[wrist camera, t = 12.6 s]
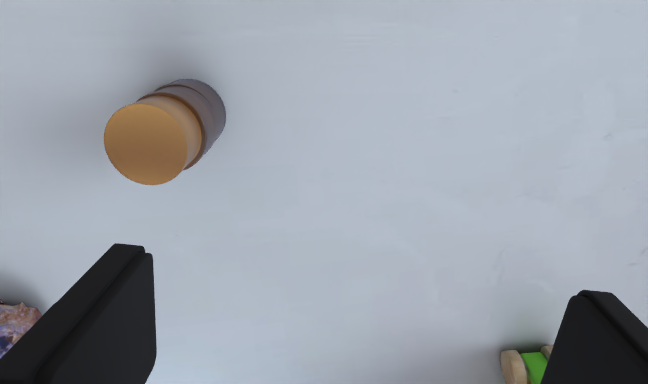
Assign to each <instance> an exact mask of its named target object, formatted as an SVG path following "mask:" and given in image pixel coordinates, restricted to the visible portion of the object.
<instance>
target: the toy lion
mask: <svg viewBox="0 0 648 384" xmlns="http://www.w3.org/2000/svg"><path fill="white" fill-rule="evenodd" d="M553 346H554V345H549V346H543V347H542V348H541V349H540V352H534V353H522V354H520V355H519V353H518V352H517V351H516V350H507V351H502V353H501V356H500V361H501V368H502V372H503V376H504V379H505V381H506V384H540V383H541V380H542V377H543V374H544V371H545V369H546V366H547V363H548V360H549V357H550V354H551V351H552V348H553Z"/></svg>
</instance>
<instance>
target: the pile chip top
mask: <svg viewBox="0 0 648 384" xmlns="http://www.w3.org/2000/svg"><path fill="white" fill-rule="evenodd" d="M157 95H158V96H167V97H171V98H174V99H176V100H178V101H180V102H181V103H183V104H184V105H186V106H187V107H188V108H189V109H190V110H191V111H192V113H193V114H194V115H195V117H196V118H197V121H198V123H199V125H200V129H201V136H202V140H201V146H200V149H199V152H198V154H197V156H196V157H195V158H194V159H193V160H192V161H191V162H190V163H189V164H188V165H187V166H186V167H185V168H184V169H183V170H186V169H188V168H190V167H192V166H193V165H194V164H196V163H197V162H198V161H199V160H200V158H201V157H202V156H203V155H204V154H205V153H206V152H207V151H208V150H209V149H210V148H211V146H212V145H213V143H214V141H215V139H216V136H217V129H218V126H217V118H216V115H215V112H214V110H213V108H212V107H211V105H210V104H209V102H208V101H207V100H206V99H205V98H204V97H203V96H202V95H200V94H199V93H198V92H196V91H194V90H192V89H190V88H186V87H182V86H169V87H165V88H163V89H160V90H158V91H155V92H153V93H150V94H148V95H145V96H143V97H142V98H140V99H139V100H142V99H144V98H147V97H150V96H157ZM139 100H137V101H139ZM137 101H136V102H137ZM183 170H182V171H183Z"/></svg>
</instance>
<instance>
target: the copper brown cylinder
mask: <svg viewBox="0 0 648 384" xmlns="http://www.w3.org/2000/svg"><path fill="white" fill-rule="evenodd" d="M201 140H202V136H201V129H200V125H199V123H198V121H197V118H196V117H195V115H194V114H193V113H192V111H191V110H190V109H189V108H188V107H187V106H186V105H184V104H183V103H181V102H180V101H178V100H176V99H174V98H171V97H167V96H158V95H157V96H150V97H147V98H144V99H142V100H139V101H137V102H135V103H132V104H130V105H127V106H125V107H123V108H121V109H119V110H118V111H117V112H115V113H114V114H113V115H112V117H111V118H110V119H109V121H108V123H107V125H106V128H105V133H104V145H105V149H106V153H107V155H108V157H109V159H110V161H111V163H112V164H113V165H114V167H115V168H116V169H117V170H118V171H119V172H120V173H121V174H122V175H124V176H125V177H127V178H128V179H130V180H132V181H135V182H137V183H141V184H145V185H159V184H163V183H166V182H169V181H170V180H172V179H174V178H175V177H176V176H177V175H178V174H179V173H180V172H181V171H182V170H183V169H184V168H185V167H186V166H187V165H188V164H189V163H190V162H191V161H192V160H193V159H194V158H195V157H196V156H197V154H198V152H199V149H200V146H201Z"/></svg>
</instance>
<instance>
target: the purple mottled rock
mask: <svg viewBox="0 0 648 384" xmlns="http://www.w3.org/2000/svg"><path fill="white" fill-rule="evenodd" d="M41 317H42V314H41V313H40V312H39V310H38V309H37V308H33V307H30V308H27V307H26V306H25V305H24V303H23V302H21V303H20V304H18V305H7V304H5V303H3V302H2V301H1V300H0V358H1V357H2V356H3V355H4V354H5V353H6V352H7V351H8V350H9V349H10V348H11V347H12V346H13V345H14V344H15V343H16V342H17V341H18V340H19V339H20V338H21V337H22V336H23V335H24V334H25V333H26V332H27V331H28V330H29V329H30V328H31V327H32V326H33V325H34V324H35V323H36V322H37V321H38V320H39V319H40V318H41Z"/></svg>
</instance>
